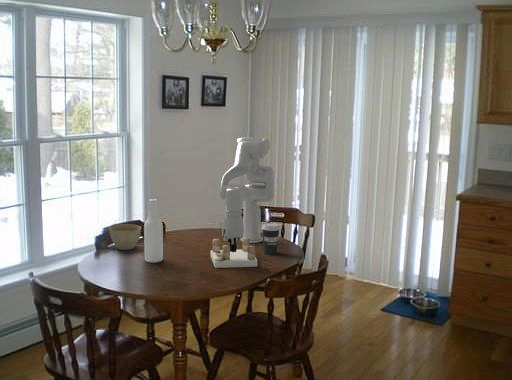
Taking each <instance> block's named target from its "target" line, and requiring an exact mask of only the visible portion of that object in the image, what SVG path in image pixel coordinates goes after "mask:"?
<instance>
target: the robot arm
mask: <svg viewBox="0 0 512 380" xmlns="http://www.w3.org/2000/svg"><path fill="white" fill-rule="evenodd" d="M270 147H271V143H270V140H269V139H268V138H267V137H251V136H241V137H238V138H237V139H236V149H235V150H236V151H235V155H234V156H235V157H234V161H233V166H232V167H231V168H229V169H227V171H226V172H225V173H224V174H223V176H222V178H221V181H220V185H219V193H218V194H219V197H220V199H222V200H224V201H225V216H224V217H223V220H222V224H221V225H222V227H221V236H222V237H223V241H225V242H227V243H228V244H229V246H230V251H231V252H236V250H238V249H237V248H238V247H237V244H238V243H239V241H240V242H242V243H243V238H249V239H250V244H256V243H261V242H263V236H261V218H262V217H261V215H262V213H261V212H262V211H261V210H262V209H261V207H260V205H259V204H258V202H259V203H271V202H273V200H274V196H275V175H274V169H273V168H272V166H269V165H261V164H260V159H264V158H265V157H266V156H267V155H268V153H269V151H270ZM240 176H244V180H245V182H247V184H244V185H242V184H229V183H230V182H231V181H232V180H234V179H236V178H239V177H240ZM242 203H243V204H242ZM242 205H243V206H242ZM242 209H243V210H242ZM242 214H243V216H242Z"/></svg>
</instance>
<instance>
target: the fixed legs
mask: <svg viewBox="0 0 512 380" xmlns="http://www.w3.org/2000/svg"><path fill="white" fill-rule="evenodd" d="M241 249H242V251H245V252H248V258H247V259H248V260H255V257H256V246H255V245H251V243H250V239H249V238H243V242H242V248H241ZM212 250H213V252H215V253H216V251H220V250H221V239H220V238H213V239H212Z"/></svg>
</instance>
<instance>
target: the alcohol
mask: <svg viewBox="0 0 512 380" xmlns="http://www.w3.org/2000/svg"><path fill="white" fill-rule="evenodd" d="M143 226H144V227H143V232H144V233H143V235H144V237H143V241H144V243H143V245H144V246H143V247H144V250H143V251H144V260H145V262H147V263H153V264H154V263H160V262H162V260H163V259H164V234H163V233H164V230H163V229H164V225H163V221H162V219H160V217H159V208H158V199H157V198H149V199H148V215H147V219H146V221H144V225H143Z"/></svg>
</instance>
